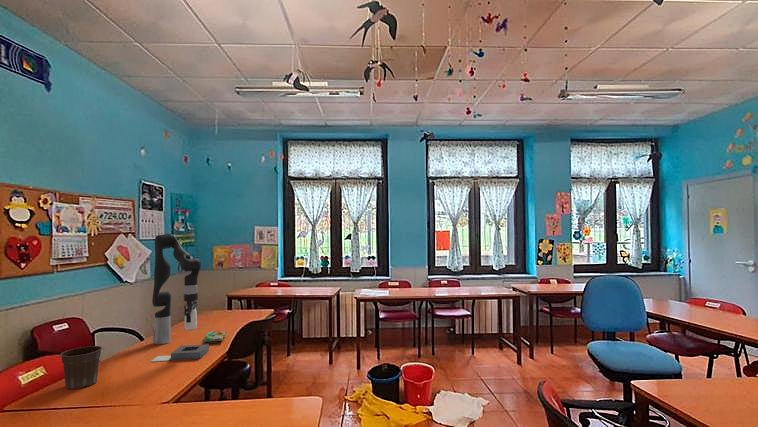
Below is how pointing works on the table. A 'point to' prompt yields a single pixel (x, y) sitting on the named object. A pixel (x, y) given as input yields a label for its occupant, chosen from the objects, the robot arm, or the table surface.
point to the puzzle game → (214, 337)
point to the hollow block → (189, 352)
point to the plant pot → (81, 366)
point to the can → (192, 321)
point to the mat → (161, 358)
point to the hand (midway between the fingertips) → (190, 320)
